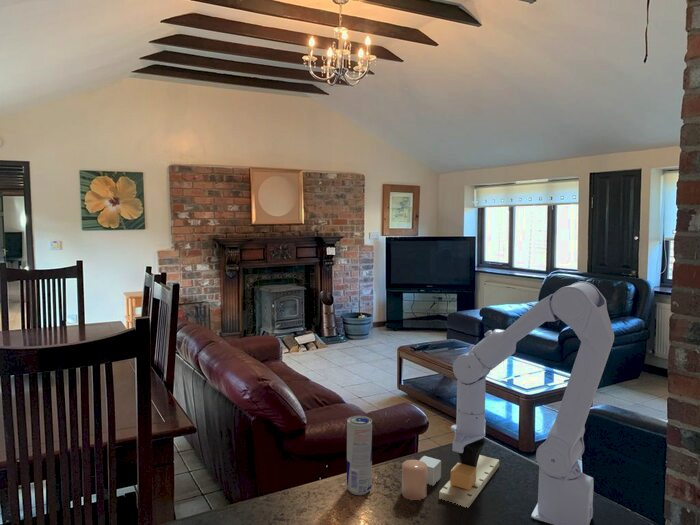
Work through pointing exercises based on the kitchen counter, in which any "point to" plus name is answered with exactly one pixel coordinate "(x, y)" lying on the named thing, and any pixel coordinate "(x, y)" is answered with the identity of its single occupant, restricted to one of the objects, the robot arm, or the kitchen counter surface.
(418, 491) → the tan rounded cylinder
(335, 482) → the kitchen counter surface
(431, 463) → the grey block
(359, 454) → the beverage can
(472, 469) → the tan square block
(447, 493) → the counting board
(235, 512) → the kitchen counter surface
